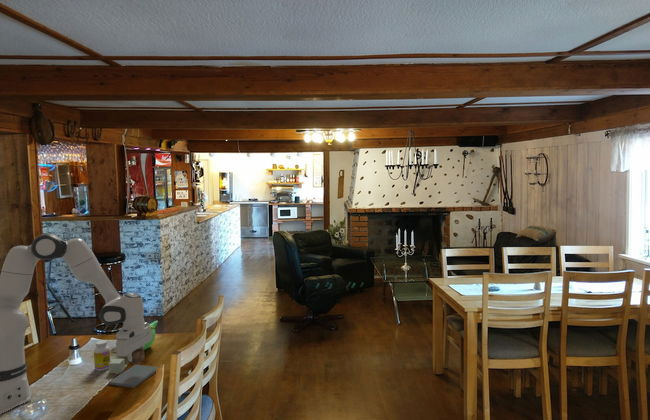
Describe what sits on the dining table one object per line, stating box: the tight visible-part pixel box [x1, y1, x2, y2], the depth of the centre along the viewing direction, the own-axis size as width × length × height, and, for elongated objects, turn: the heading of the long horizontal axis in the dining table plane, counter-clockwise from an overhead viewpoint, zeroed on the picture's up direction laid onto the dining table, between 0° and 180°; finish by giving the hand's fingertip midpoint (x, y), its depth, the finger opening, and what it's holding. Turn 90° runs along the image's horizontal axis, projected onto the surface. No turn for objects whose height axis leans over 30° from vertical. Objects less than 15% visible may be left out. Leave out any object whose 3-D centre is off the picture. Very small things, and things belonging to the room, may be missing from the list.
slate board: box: [108, 364, 159, 389], centre depth 202 cm, size 18×13×1 cm
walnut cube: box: [127, 348, 145, 365], centre depth 202 cm, size 5×5×5 cm
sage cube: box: [108, 358, 126, 375], centre depth 208 cm, size 5×5×5 cm
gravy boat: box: [144, 320, 159, 351], centre depth 233 cm, size 18×17×15 cm
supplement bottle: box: [93, 339, 111, 372], centre depth 211 cm, size 7×7×13 cm
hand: (135, 357), depth 203 cm, fingers closed on walnut cube, 5 cm apart
